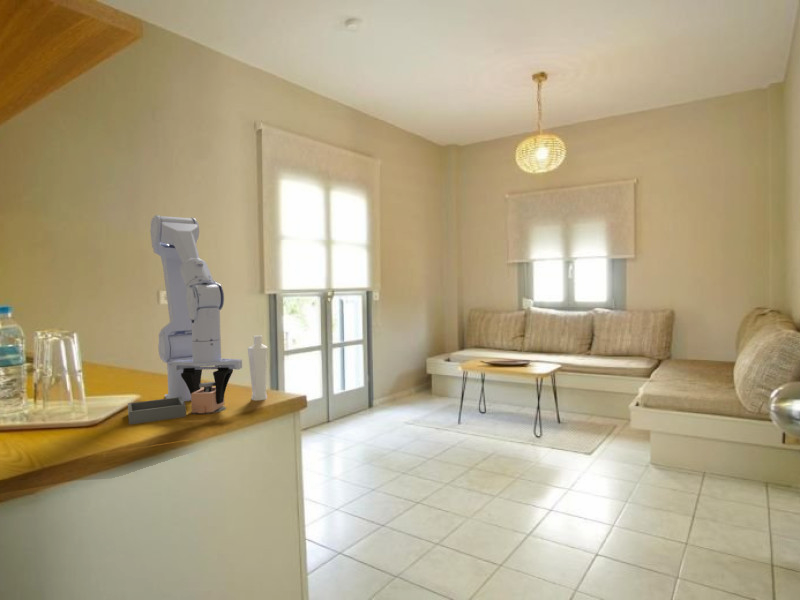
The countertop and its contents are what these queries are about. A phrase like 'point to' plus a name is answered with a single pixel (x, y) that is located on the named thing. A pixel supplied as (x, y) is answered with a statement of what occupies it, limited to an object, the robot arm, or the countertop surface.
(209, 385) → the dark grey stand
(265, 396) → the perfume bottle
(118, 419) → the countertop surface
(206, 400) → the pink block
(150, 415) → the tray
